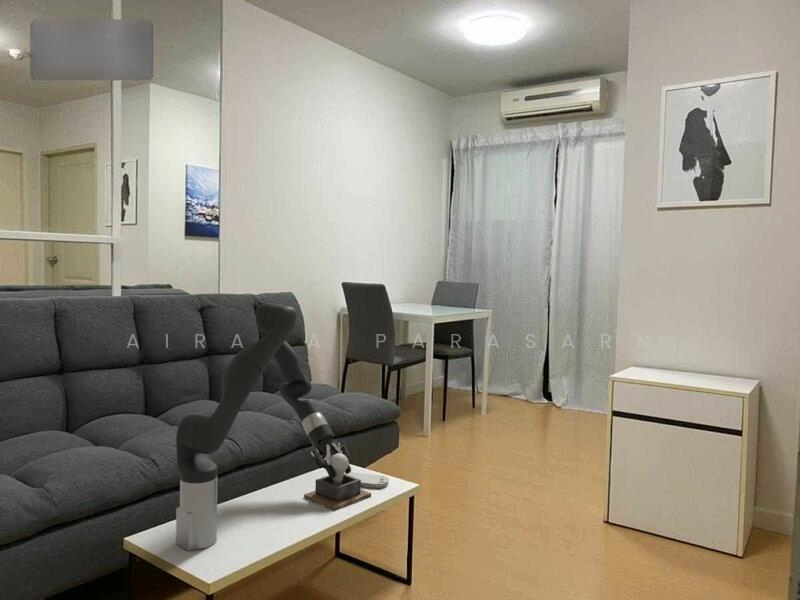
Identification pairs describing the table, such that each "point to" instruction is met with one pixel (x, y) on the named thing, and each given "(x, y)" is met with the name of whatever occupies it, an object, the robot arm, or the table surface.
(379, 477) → the game console
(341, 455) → the lightbulb
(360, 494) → the holder
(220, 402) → the robot arm
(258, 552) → the table surface
